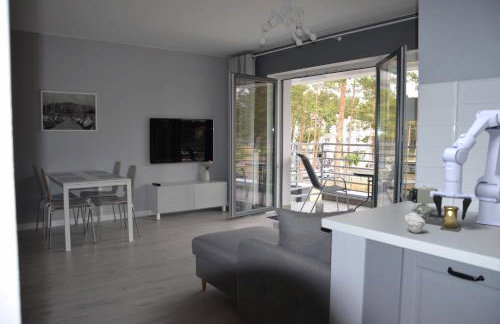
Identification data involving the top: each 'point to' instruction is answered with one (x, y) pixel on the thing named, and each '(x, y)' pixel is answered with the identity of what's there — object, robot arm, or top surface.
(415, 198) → the pneumatic valve
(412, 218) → the white lumpy ball
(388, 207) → the top surface
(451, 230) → the mat
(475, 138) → the robot arm
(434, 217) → the housing
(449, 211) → the gold metal cylinder
